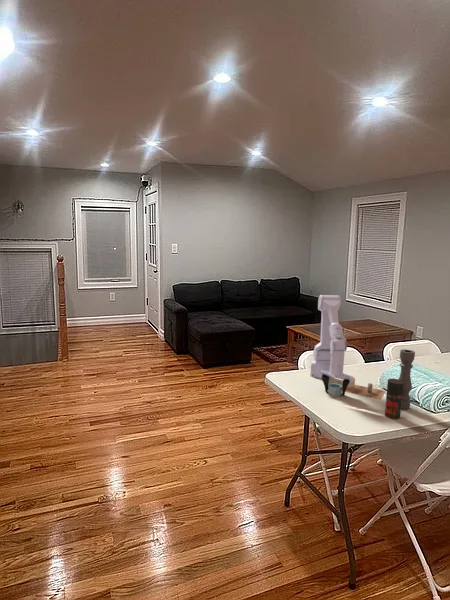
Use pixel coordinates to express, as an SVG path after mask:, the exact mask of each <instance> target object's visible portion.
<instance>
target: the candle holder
mask: <svg viewBox="0 0 450 600" xmlns="http://www.w3.org/2000/svg"><path fill="white" fill-rule="evenodd" d="M415 357H416V352H415V350H412V349H400V353H399V360H400V362H401V363H399V366H400V375H399V377H398V378H397V379H398V380H401V381H403V382H404V384H403V394H402V404H401V411H409V410H410V409H411V403H412V402H411V401H412V400H411V396H410V392H411V391H412V388H413V385H412V378H411V371H412V369H413V368H414V365H413V363H414V360H415Z"/></svg>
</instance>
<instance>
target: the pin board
mask: <svg viewBox="0 0 450 600" xmlns="http://www.w3.org/2000/svg"><path fill="white" fill-rule="evenodd" d="M336 384H340V385H341V386H342V381H338V382H336ZM342 390H343V388H342ZM345 393H350V394H353V395H359V396H362V397H367V398H370V399H371V398H372V399H376V400H382V398H383V397H384V394H385V393H386V390H383V389H377V388H373V383H367V386H363V385H359V384H355V388H354V389H353V390H347V389H346V391H345Z"/></svg>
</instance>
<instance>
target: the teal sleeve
mask: <svg viewBox="0 0 450 600" xmlns="http://www.w3.org/2000/svg"><path fill="white" fill-rule="evenodd" d="M327 392H328V393H327V394H329V395H330V396H332V397H341V396H343V395H342V386H341V385H340V384H337V383H330V384H329V387H328V391H327Z"/></svg>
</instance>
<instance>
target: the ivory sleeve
mask: <svg viewBox="0 0 450 600" xmlns="http://www.w3.org/2000/svg"><path fill="white" fill-rule="evenodd" d="M343 381H344V379H341V382H343ZM355 385H356V377H355V376H353V381H352V382H351V381H350V383H349V384H348V386H347V388H346V389H347V390H353V389H354V388H355ZM342 388H343V384H342Z"/></svg>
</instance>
